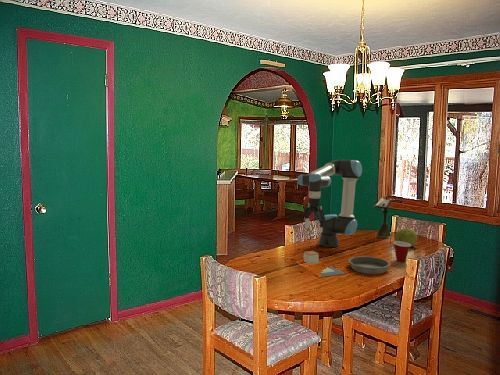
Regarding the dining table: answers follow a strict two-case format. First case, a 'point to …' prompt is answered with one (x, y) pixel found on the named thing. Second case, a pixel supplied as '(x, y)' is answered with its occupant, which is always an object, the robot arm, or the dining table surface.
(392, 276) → the dining table surface
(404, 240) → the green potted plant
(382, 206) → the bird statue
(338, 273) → the blue-grey flat triangle
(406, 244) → the plastic cup
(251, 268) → the dining table surface
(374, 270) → the cake pan
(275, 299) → the dining table surface
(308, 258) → the cream block
